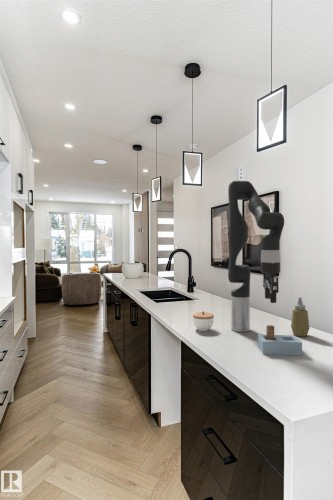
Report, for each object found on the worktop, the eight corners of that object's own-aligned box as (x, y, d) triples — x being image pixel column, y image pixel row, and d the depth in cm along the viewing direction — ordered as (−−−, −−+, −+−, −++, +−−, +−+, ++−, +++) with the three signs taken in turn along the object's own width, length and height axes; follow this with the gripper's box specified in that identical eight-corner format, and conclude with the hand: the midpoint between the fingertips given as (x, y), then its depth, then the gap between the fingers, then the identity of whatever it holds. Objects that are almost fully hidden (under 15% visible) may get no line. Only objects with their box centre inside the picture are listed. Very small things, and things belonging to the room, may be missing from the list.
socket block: (257, 346, 123) (257, 334, 123) (294, 347, 122) (294, 335, 122) (262, 354, 114) (262, 341, 114) (302, 355, 113) (302, 342, 113)
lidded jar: (213, 333, 143) (213, 314, 143) (191, 331, 145) (191, 313, 145) (214, 327, 153) (214, 309, 153) (194, 326, 155) (193, 308, 155)
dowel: (265, 349, 120) (265, 325, 120) (273, 349, 120) (273, 325, 120) (267, 351, 117) (267, 327, 117) (275, 351, 117) (275, 327, 117)
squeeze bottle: (299, 331, 144) (299, 295, 144) (313, 336, 136) (313, 298, 136) (287, 333, 141) (287, 296, 141) (300, 338, 133) (300, 299, 133)
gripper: (257, 260, 125) (257, 297, 126) (265, 262, 111) (265, 304, 112) (275, 260, 125) (274, 297, 125) (285, 262, 110) (285, 304, 111)
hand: (270, 300), depth 118 cm, fingers open, 8 cm apart
